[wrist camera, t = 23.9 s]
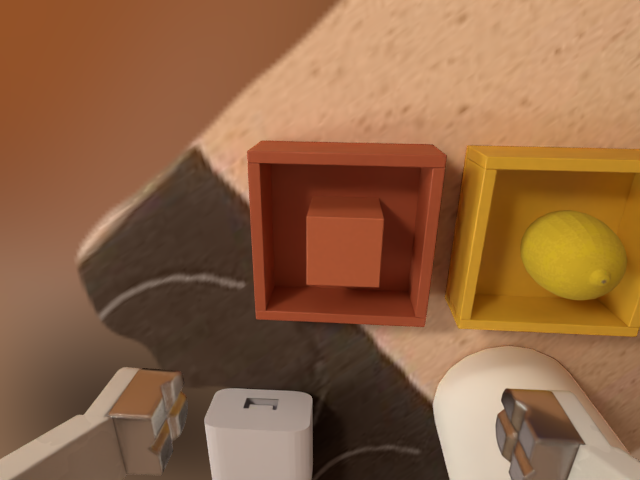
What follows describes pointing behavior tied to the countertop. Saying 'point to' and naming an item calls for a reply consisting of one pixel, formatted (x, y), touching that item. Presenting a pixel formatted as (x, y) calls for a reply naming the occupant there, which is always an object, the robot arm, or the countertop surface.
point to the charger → (260, 435)
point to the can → (494, 406)
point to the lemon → (573, 255)
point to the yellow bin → (516, 216)
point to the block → (344, 241)
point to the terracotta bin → (344, 181)
